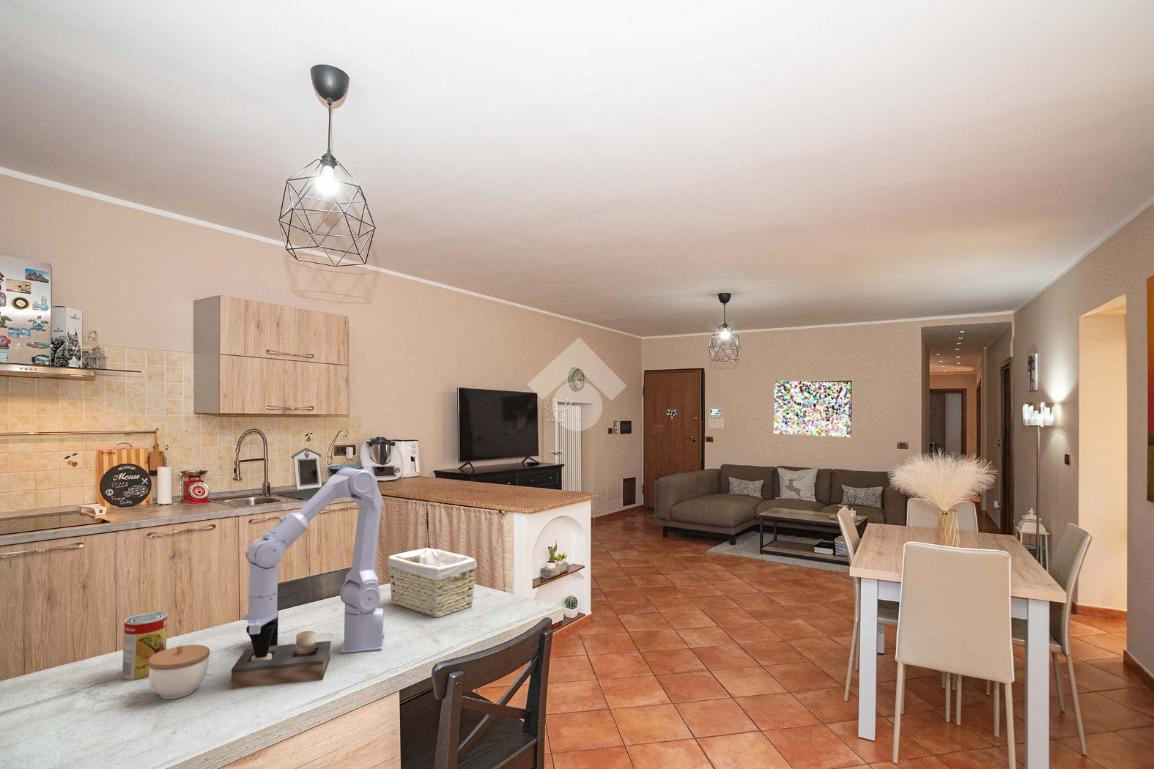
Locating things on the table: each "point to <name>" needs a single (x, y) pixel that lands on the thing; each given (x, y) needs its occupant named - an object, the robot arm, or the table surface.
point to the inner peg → (305, 642)
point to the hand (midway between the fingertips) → (261, 656)
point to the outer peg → (268, 657)
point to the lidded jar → (178, 670)
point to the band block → (281, 666)
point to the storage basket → (432, 581)
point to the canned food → (142, 642)
